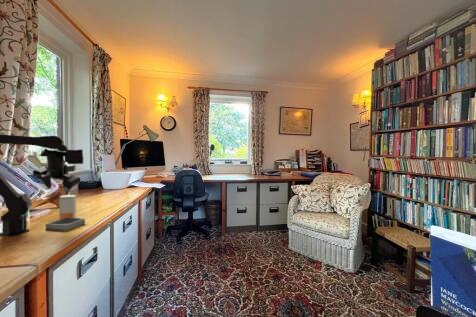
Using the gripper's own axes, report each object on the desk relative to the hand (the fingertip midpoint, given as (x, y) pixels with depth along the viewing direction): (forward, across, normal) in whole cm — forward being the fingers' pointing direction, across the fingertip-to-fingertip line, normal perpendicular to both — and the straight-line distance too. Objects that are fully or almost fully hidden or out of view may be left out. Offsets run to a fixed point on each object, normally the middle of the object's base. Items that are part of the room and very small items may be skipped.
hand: (58, 191), depth 107 cm
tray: (+9, -12, +9) cm, 18 cm away
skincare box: (+15, -5, +1) cm, 16 cm away
